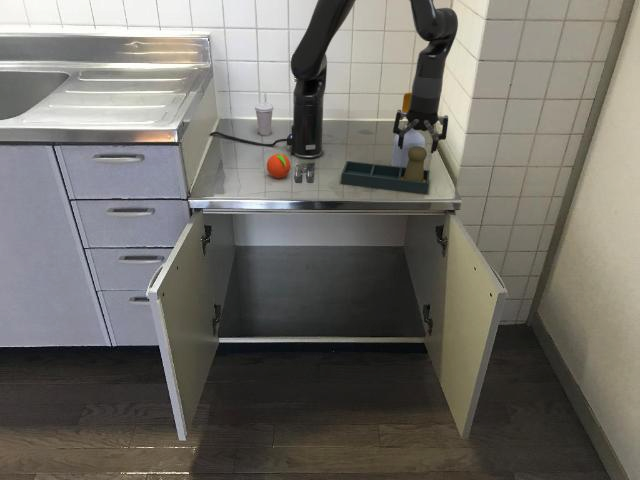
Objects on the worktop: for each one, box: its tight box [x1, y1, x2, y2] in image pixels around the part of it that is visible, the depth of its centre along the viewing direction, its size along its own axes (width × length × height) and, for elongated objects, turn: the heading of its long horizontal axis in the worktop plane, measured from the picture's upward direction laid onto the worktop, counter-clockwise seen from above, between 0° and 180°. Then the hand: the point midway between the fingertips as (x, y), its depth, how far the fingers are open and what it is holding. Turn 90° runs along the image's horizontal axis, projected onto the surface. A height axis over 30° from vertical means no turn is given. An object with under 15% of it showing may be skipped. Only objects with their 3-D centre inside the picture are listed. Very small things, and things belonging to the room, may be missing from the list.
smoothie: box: [254, 92, 274, 136], centre depth 171 cm, size 6×6×14 cm
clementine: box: [266, 153, 292, 179], centre depth 145 cm, size 8×7×7 cm
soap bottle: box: [390, 92, 426, 168], centre depth 147 cm, size 9×9×25 cm
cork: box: [403, 146, 428, 182], centre depth 142 cm, size 6×6×11 cm
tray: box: [340, 160, 430, 195], centre depth 146 cm, size 25×9×3 cm, turn 78°
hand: (416, 150), depth 139 cm, fingers open, 8 cm apart
